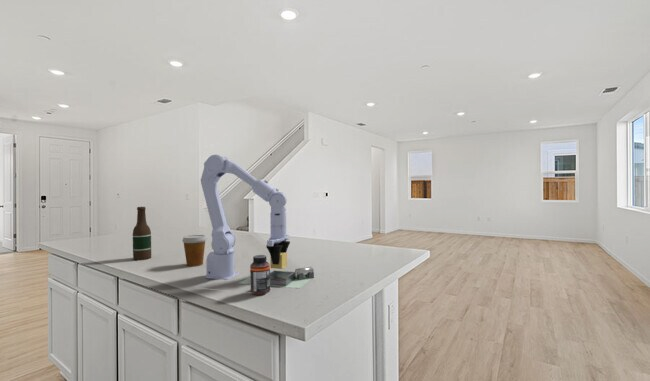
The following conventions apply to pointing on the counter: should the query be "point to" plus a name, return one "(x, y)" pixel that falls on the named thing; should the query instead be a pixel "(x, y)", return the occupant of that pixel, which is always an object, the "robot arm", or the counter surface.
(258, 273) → the supplement bottle
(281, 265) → the yellow block
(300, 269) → the shaft
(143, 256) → the beer bottle
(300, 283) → the mat
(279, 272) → the frame
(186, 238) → the disposable coffee cup
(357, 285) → the counter surface
